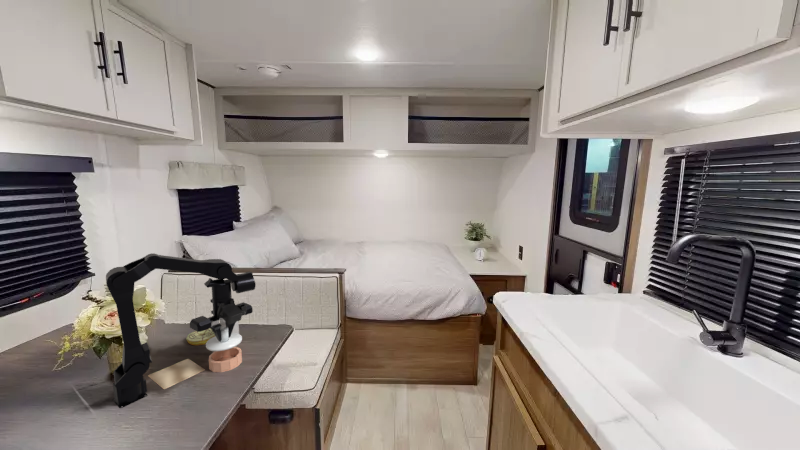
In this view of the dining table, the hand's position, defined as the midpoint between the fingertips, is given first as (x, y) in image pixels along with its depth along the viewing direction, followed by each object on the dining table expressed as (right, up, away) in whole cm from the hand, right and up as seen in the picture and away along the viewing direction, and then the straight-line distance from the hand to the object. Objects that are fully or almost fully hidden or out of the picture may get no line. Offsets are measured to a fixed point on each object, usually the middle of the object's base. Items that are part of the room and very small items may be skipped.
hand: (224, 339), depth 108 cm
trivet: (-13, -10, -4) cm, 17 cm away
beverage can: (-6, -8, +16) cm, 19 cm away
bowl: (0, -10, +1) cm, 10 cm away
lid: (0, -1, 0) cm, 1 cm away
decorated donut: (-18, -7, +17) cm, 26 cm away
